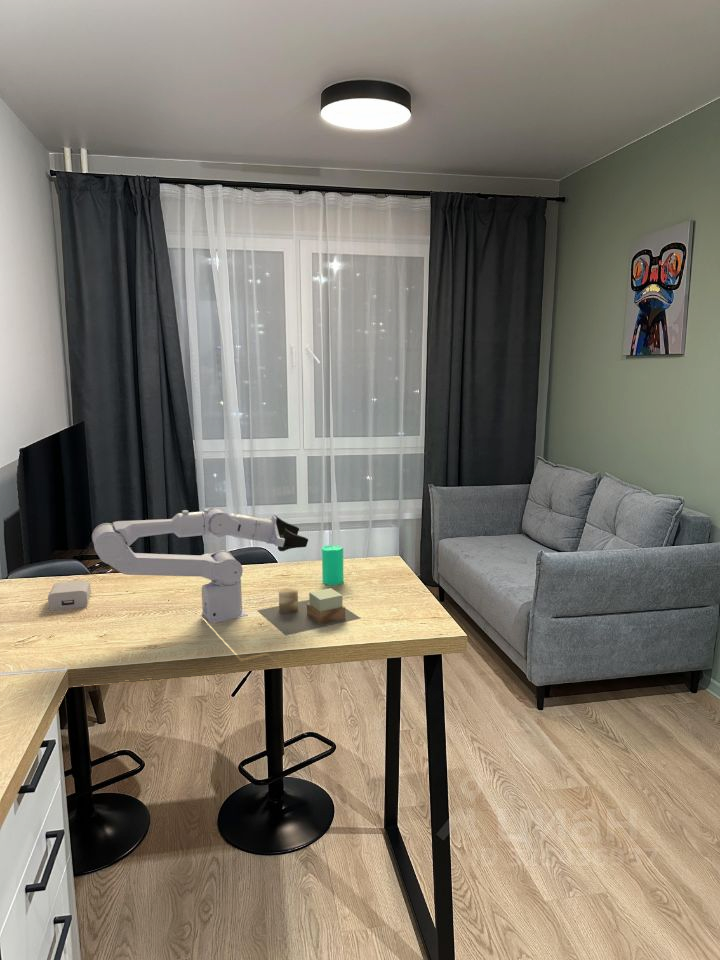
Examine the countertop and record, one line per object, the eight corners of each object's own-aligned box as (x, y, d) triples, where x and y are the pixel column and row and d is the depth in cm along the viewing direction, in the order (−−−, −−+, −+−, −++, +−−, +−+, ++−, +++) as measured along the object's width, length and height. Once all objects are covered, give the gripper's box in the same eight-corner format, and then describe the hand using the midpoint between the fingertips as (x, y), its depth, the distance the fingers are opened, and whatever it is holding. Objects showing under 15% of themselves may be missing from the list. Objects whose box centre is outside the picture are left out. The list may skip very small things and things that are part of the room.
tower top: (320, 611, 159) (320, 599, 158) (309, 603, 164) (309, 592, 163) (342, 607, 162) (342, 595, 161) (331, 599, 167) (330, 588, 166)
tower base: (319, 624, 159) (319, 612, 158) (307, 615, 165) (306, 603, 164) (345, 618, 162) (345, 607, 162) (332, 609, 168) (331, 598, 168)
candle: (343, 586, 187) (342, 545, 185) (321, 586, 187) (321, 545, 185) (343, 579, 193) (343, 539, 191) (323, 579, 193) (322, 539, 191)
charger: (93, 588, 187) (87, 607, 173) (57, 592, 184) (49, 611, 170) (92, 572, 186) (86, 590, 172) (56, 575, 184) (47, 593, 169)
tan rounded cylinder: (283, 615, 165) (283, 595, 164) (276, 608, 169) (275, 590, 168) (301, 611, 167) (300, 592, 166) (293, 605, 171) (293, 586, 170)
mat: (285, 637, 153) (285, 635, 153) (256, 612, 168) (256, 610, 168) (360, 620, 163) (360, 618, 163) (327, 597, 178) (327, 596, 178)
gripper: (264, 524, 159) (315, 533, 165) (250, 503, 171) (298, 513, 177) (256, 550, 160) (307, 559, 166) (242, 529, 173) (290, 537, 179)
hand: (302, 537), depth 172 cm, fingers open, 7 cm apart
